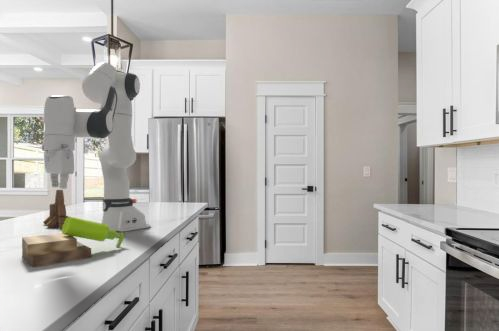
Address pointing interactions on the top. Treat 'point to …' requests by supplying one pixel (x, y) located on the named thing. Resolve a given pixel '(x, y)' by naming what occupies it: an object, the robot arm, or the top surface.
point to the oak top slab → (48, 244)
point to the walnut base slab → (58, 256)
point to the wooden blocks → (57, 212)
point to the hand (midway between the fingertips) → (59, 187)
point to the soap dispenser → (90, 230)
